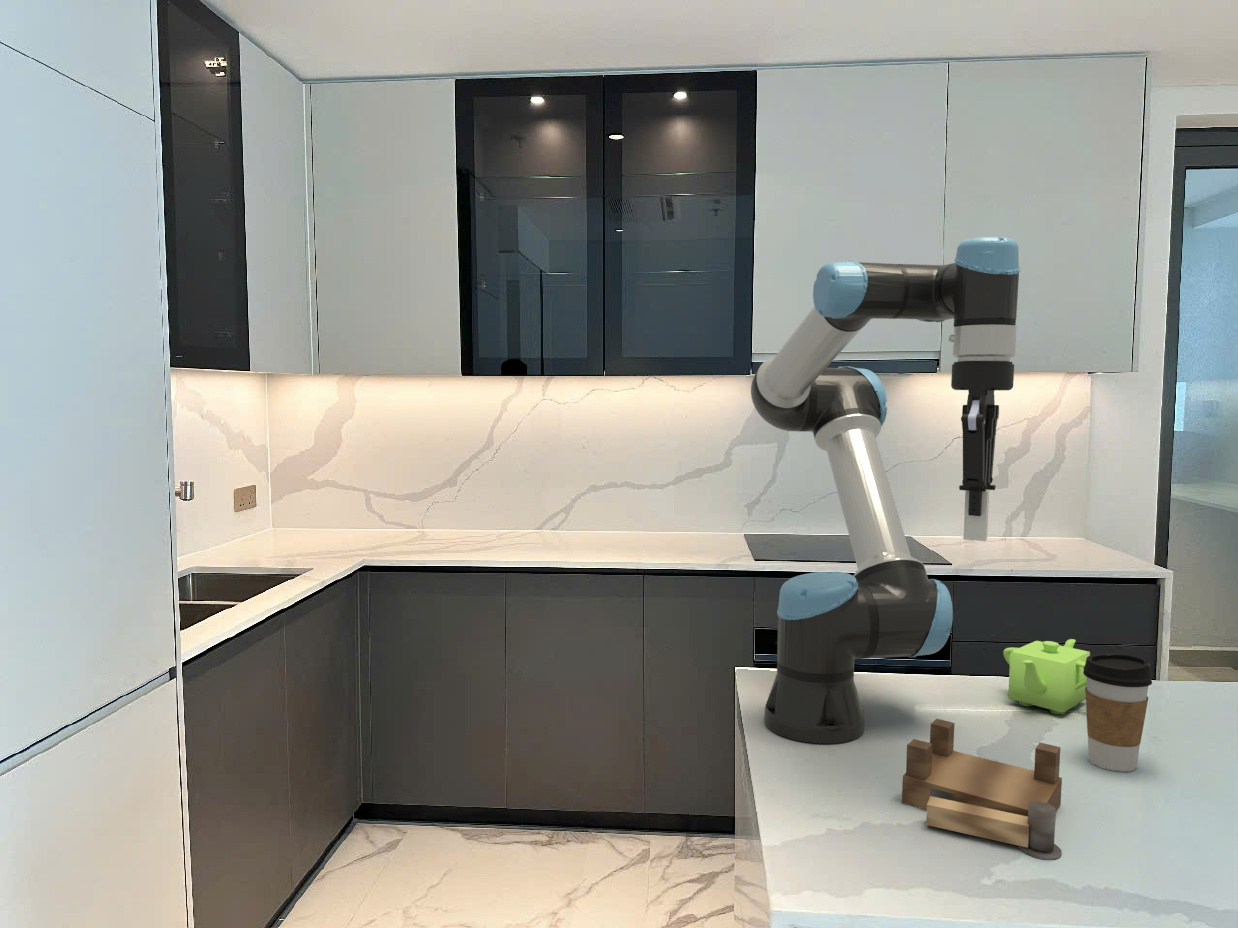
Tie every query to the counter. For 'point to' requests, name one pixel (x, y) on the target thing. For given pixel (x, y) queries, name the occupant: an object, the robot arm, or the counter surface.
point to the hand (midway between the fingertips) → (975, 539)
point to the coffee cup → (1116, 708)
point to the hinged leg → (996, 822)
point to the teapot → (1047, 675)
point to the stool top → (980, 778)
